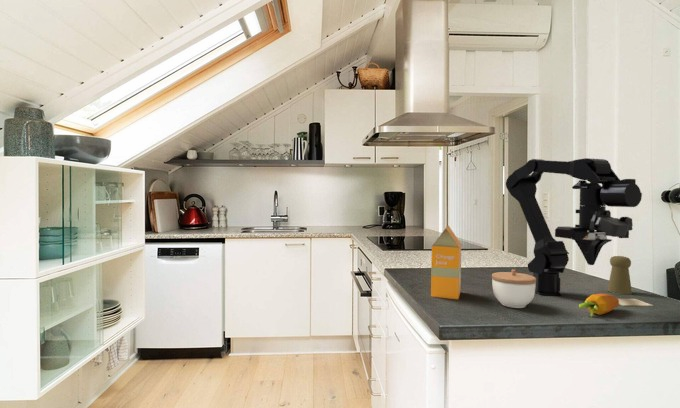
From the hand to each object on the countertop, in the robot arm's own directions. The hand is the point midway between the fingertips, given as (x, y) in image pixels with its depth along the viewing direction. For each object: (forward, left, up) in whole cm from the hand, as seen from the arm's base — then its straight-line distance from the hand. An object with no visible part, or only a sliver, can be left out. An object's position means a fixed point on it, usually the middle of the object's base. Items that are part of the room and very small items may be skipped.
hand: (590, 264), depth 98 cm
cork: (+20, +15, -11) cm, 28 cm away
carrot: (+6, -2, -9) cm, 11 cm away
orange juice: (-35, +10, -11) cm, 38 cm away
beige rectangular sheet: (+13, +3, -11) cm, 18 cm away
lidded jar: (-20, 0, -11) cm, 23 cm away
